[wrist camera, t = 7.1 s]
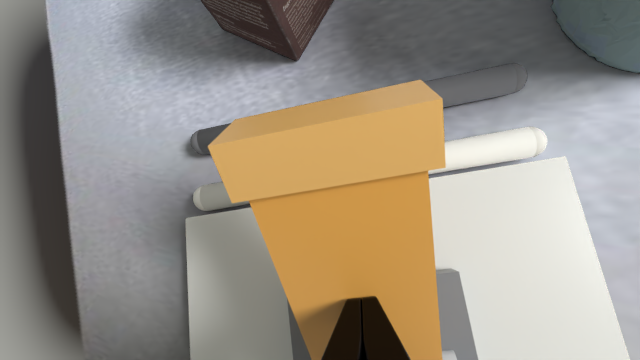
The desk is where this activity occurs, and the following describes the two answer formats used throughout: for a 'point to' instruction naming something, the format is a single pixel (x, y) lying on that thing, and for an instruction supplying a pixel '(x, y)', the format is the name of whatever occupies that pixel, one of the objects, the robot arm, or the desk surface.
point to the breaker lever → (346, 206)
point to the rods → (456, 151)
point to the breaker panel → (451, 275)
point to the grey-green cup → (603, 29)
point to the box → (271, 21)
